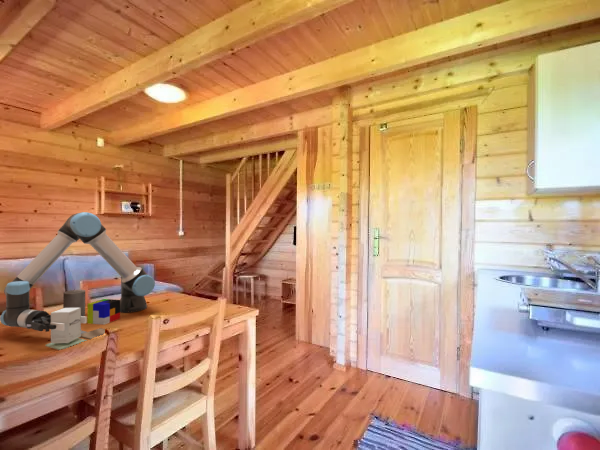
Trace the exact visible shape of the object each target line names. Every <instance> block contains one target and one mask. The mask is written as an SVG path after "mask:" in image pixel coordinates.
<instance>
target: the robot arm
mask: <svg viewBox="0 0 600 450" xmlns="http://www.w3.org/2000/svg"><path fill="white" fill-rule="evenodd" d="M78 240H80V241H81V242H82V243H83V244H85V245H90V246H91V248H93V249H94V250H95V252H97V253H98V255H100V257H101V258H103V259H104V261H106V263H107V264H108V265H110V266H111V267H112V269H113V270H114V271H115V272H116V273H117V274H118V275H119V276H120V283H121V284H120V299H119V300H120V313H134V312H140V311H143V310H146V309H147V308H148V304H147V301H146V298H145V296H148V295H149V294H151V292H153V291H154V289H155V286H156V285H155V283H156V282H155V279H154V277H152V276H151V275H150V274H148V273H147V272H146V271H145V270H144V269H143V268H142V267H138V266H137V265H136V264H134V262H133V261H132V260H131V259H130V258H129V257H128V256H127V255H126V254H125V253H124V252H123V250H122V249H120V247H119V246H118V245H117V244H116V243H115V242H114V240H112V239H111V237H110V236H108V234H107V229H106V228H105V226H104V225H103V224H102V222H101V220H100V218H99V217H98V216H97V215H96V214H93V213H92V212H87V211H86V212H83V211H82V212H78V213H73V214H72V215H70V216H69V217H68V218H67V219H66V220H65V222H64V223H63V225H62V226H61V227H60V228H58V230H57V235H55V236H54V238H53V239H52V240H50V242H49V243H47V245H46V246H45V247H44V248H43V249H42V250H41V251H40V252H39V253H38V254H37V255H36V256H35V257H33V259H32V260H31V261H30V262H29V263H28V264H27V265H26V266H25V267H24V268H23V270H22V271H21V272H20V273H19V274H18V275H17V276H16V277H15V278H14V279H13V280H11V281H10V282H8V283H7V284H6V286H5V288H4V291H3V292H4V295H5V301H6V302H5V305H6V306H5V310H3V311H2V313H1V314H0V322H1V324H2V325H4V326H7V327H11V328H26V329H27V330H34V331H37V332H43V331H45V333H47V332H50V331H51V330H59V331H64V330H65V324H64V323H55V322H51V314H50V313H49V312H48V311H45V310H37V309H30V290H31V288H32V287H33V286H34V285H35V284H36V283H37V282H38V281H39V279H41V277H42V276H43V275H44V274H45V273H46V272H47V271H48V270H49V269H50V267H52V266H53V265H54V263H55V262H56V261H57V260H59V258H60V257H61V256H62V255H63V254H64V253H65V251H67V249H69V247H70V246H71V245H72V244H74V243H77V241H78ZM81 324H88V323H87V316H86V315H84V316H81Z"/></svg>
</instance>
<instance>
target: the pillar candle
mask: <svg viewBox="0 0 600 450" xmlns="http://www.w3.org/2000/svg"><path fill="white" fill-rule="evenodd" d="M62 298H63V300H62V301H63V303H62V304H63V306H62V309H63V308H81V316H86V289H75V288H74V289H73V290H71V289H70V290H66V291H64V292H63V297H62Z"/></svg>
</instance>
